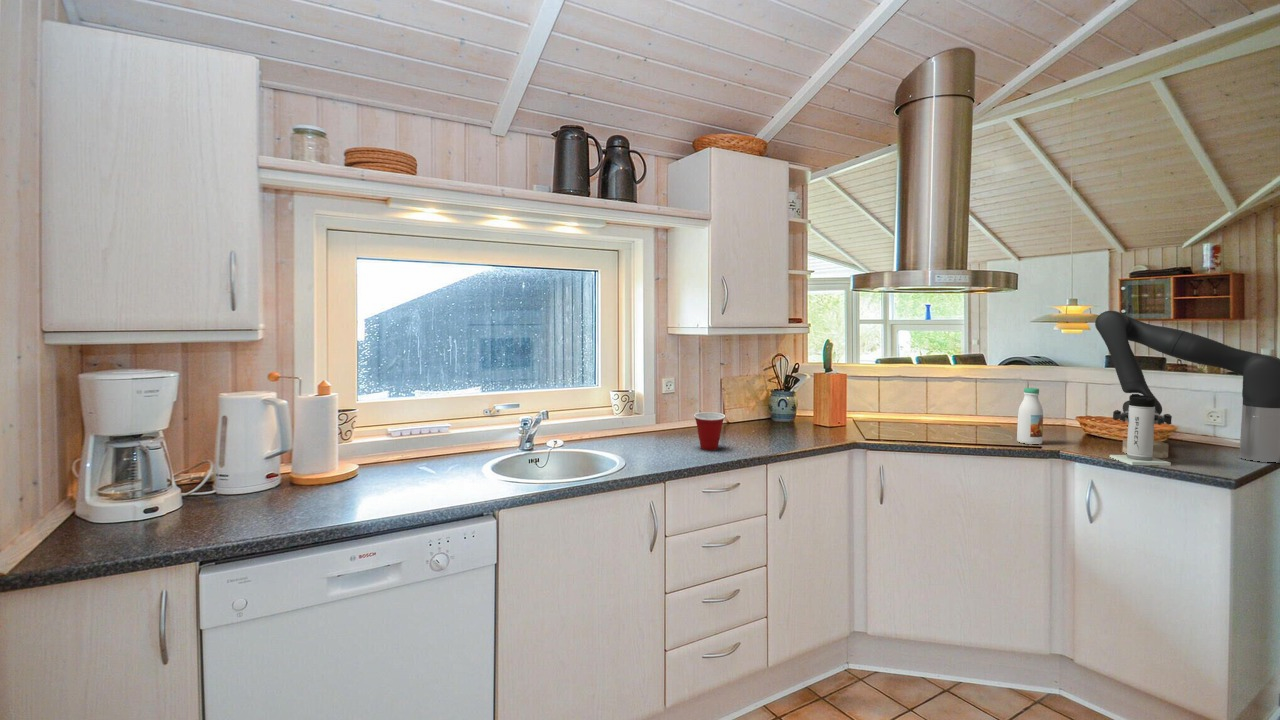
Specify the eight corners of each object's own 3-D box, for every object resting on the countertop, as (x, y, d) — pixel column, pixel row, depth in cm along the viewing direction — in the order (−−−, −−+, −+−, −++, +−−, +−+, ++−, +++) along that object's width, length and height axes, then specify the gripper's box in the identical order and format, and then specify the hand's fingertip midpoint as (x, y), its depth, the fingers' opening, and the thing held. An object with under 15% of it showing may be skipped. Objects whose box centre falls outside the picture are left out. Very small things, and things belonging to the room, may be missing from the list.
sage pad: (1146, 458, 193) (1146, 455, 193) (1170, 465, 184) (1170, 462, 183) (1109, 457, 194) (1109, 454, 194) (1132, 465, 184) (1132, 461, 184)
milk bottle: (1020, 444, 216) (1022, 389, 215) (1014, 440, 223) (1016, 386, 222) (1045, 445, 214) (1047, 389, 212) (1037, 441, 221) (1040, 387, 220)
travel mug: (1142, 456, 192) (1144, 393, 191) (1157, 460, 186) (1160, 396, 184) (1121, 455, 193) (1123, 393, 191) (1135, 460, 186) (1138, 396, 185)
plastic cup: (694, 452, 202) (694, 416, 202) (692, 445, 213) (692, 411, 213) (726, 452, 202) (727, 416, 201) (723, 445, 213) (723, 412, 212)
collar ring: (1150, 450, 205) (1150, 439, 205) (1176, 458, 194) (1177, 446, 194) (1114, 450, 206) (1115, 438, 206) (1139, 457, 195) (1139, 445, 195)
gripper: (1114, 400, 203) (1113, 405, 191) (1171, 404, 194) (1172, 410, 182) (1113, 422, 204) (1111, 429, 192) (1169, 427, 195) (1171, 434, 182)
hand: (1141, 419), depth 187 cm, fingers open, 8 cm apart
